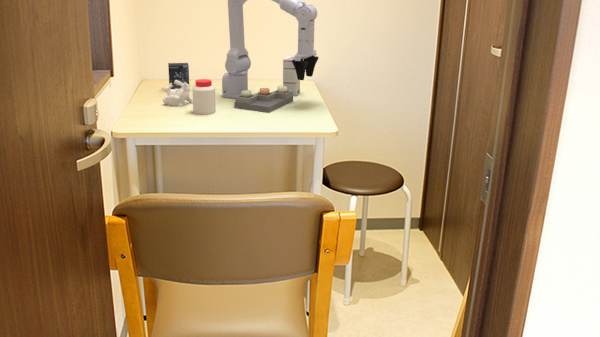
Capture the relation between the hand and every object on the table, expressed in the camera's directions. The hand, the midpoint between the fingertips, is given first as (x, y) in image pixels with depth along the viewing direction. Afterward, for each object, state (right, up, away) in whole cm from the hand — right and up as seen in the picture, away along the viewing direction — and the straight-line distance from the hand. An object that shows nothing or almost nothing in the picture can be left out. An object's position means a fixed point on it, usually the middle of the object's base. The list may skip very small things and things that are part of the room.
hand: (305, 78), depth 219 cm
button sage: (-21, -7, -2) cm, 22 cm away
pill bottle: (-35, -13, -8) cm, 39 cm away
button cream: (-9, -4, +6) cm, 11 cm away
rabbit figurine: (-46, -10, 0) cm, 47 cm away
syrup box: (-5, -4, +20) cm, 21 cm away
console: (-15, -9, +3) cm, 18 cm away
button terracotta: (-15, -6, +2) cm, 16 cm away
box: (-50, -2, +22) cm, 55 cm away
